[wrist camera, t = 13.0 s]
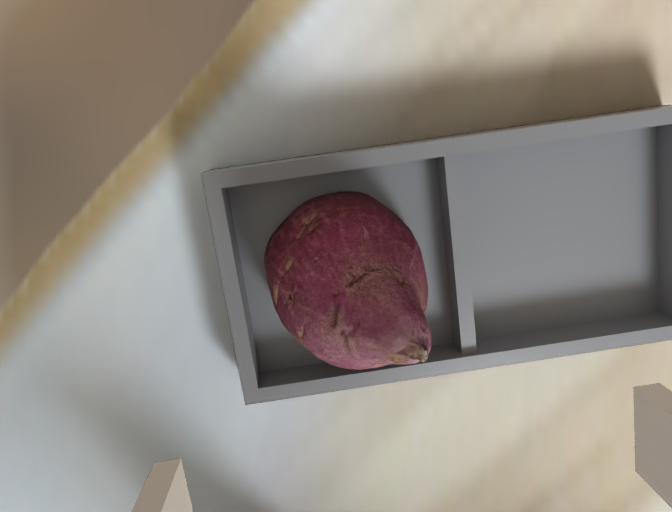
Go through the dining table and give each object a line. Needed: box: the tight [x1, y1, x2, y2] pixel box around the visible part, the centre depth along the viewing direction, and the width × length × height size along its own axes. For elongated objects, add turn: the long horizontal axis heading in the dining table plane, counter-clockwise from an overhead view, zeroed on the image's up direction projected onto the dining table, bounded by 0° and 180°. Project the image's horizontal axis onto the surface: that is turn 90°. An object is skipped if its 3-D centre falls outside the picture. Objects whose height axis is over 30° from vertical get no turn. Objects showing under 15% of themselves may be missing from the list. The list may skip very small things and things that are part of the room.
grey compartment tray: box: [201, 105, 672, 405], centre depth 36 cm, size 15×30×4 cm, turn 98°
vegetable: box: [264, 191, 432, 370], centre depth 31 cm, size 10×10×15 cm
